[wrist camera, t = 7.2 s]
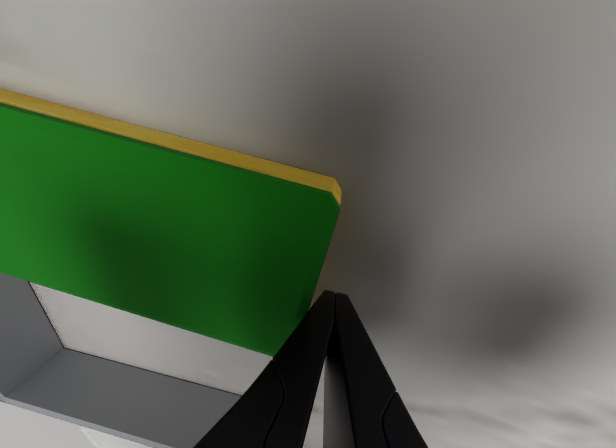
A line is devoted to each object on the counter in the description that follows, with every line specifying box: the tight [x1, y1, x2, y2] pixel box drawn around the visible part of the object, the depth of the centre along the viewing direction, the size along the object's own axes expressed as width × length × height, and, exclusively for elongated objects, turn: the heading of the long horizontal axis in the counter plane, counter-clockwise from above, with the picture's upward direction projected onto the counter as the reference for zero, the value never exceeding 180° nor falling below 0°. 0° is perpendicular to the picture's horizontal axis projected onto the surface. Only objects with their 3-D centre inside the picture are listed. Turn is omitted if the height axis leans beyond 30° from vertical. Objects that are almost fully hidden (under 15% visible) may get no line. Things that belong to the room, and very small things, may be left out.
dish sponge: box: [0, 89, 342, 357], centre depth 9 cm, size 7×14×2 cm, turn 77°
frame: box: [0, 273, 241, 448], centre depth 9 cm, size 23×14×3 cm, turn 172°
